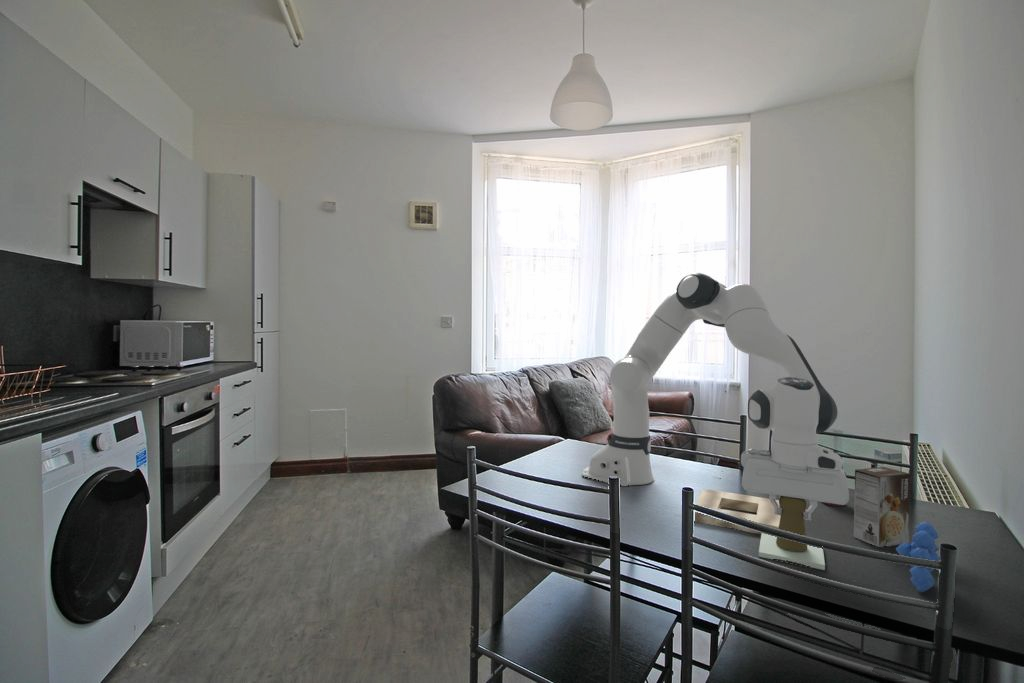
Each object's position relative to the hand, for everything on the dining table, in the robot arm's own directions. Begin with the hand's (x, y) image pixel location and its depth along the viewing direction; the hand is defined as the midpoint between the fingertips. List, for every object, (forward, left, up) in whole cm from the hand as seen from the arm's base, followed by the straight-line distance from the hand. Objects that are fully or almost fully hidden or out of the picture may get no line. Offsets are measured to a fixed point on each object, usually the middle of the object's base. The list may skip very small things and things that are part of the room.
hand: (792, 516), depth 110 cm
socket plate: (-12, +17, -8) cm, 22 cm away
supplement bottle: (+10, +40, -8) cm, 42 cm away
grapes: (+21, -4, -8) cm, 23 cm away
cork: (0, 0, -7) cm, 7 cm away
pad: (0, 0, -8) cm, 8 cm away
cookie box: (+18, +17, -8) cm, 26 cm away
